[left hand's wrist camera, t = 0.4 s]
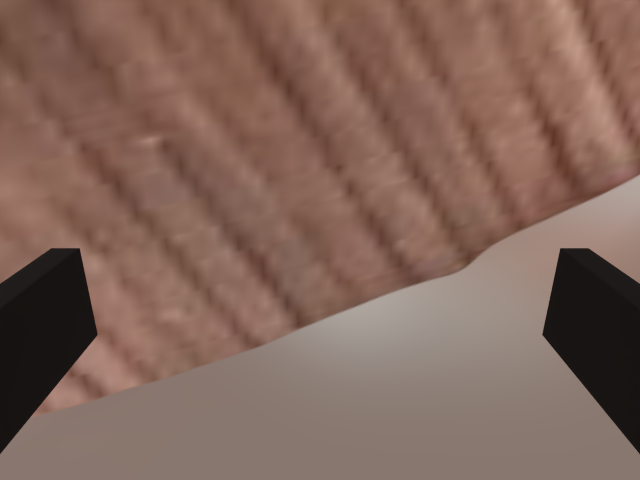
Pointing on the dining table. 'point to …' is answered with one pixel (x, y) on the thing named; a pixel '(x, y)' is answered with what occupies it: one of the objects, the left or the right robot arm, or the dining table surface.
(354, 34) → the dining table surface
